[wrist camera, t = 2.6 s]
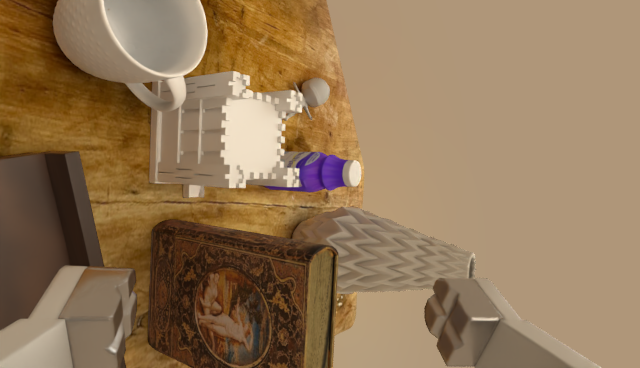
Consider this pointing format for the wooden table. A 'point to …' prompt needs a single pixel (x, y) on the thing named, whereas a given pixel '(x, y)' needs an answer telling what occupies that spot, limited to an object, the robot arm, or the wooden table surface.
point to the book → (241, 298)
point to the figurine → (312, 94)
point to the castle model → (221, 135)
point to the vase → (383, 252)
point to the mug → (134, 42)
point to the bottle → (320, 171)
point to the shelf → (42, 227)
